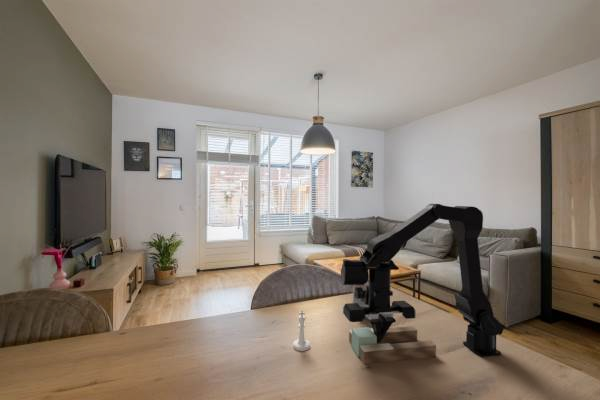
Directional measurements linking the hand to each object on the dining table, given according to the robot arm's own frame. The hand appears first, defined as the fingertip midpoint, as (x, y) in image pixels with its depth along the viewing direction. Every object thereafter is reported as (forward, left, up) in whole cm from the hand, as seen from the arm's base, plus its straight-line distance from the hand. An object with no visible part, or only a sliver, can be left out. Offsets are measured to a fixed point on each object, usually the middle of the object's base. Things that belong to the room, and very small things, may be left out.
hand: (378, 341), depth 73 cm
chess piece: (+20, -5, -2) cm, 21 cm away
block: (+4, 0, -2) cm, 5 cm away
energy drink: (-4, -21, -2) cm, 21 cm away
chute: (-4, 0, -2) cm, 4 cm away
